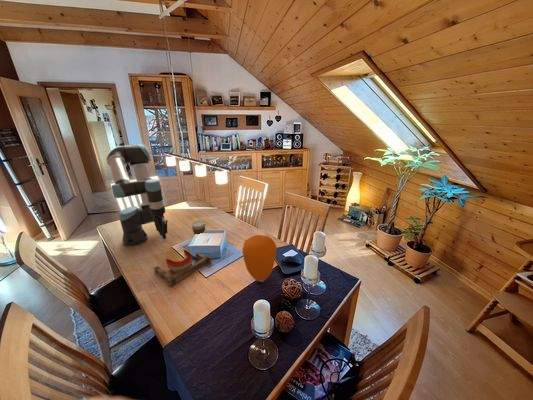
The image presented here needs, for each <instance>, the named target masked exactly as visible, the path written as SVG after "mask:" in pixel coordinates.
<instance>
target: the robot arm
mask: <svg viewBox="0 0 533 400" xmlns="http://www.w3.org/2000/svg"><path fill="white" fill-rule="evenodd" d="M151 159H152V158H151V155H150V152H149V150H148V147H147V145H145V144H138V143H137V144H129V145H119V146H115V147H113V148H112V149H110V151H109V152H108V153H107V156H106V163H107V165H108V166H109V167H110V170H111V174H112V178H113V182H114V184H112V185H111V189H112V191H111V192H112V194H113V196H114V198H115V199H121V198H122V199H123V198H129V197H132V196H137V195H140V197H141V198H140V199H141V203H140V208H138V206H130V207H127V208H126V207H125V208H124V209H122V210H120V212H119V213H118V218H119V222H120V225H121V229H122V240H121V241H122V243H123V245H124V246H127V247H128V246H137V245H140V244H142V243H143V242H145V241H146V240H147V239H148V234H147V232H146V231H145V229H144V228H143V225H147V224H151V223H154V226H155V230H156V231H157V232H158V234H159V239H160V242H161V244H163V245H164V244H166V243H168V240H167V234H168V222H169V221H168V219H165V216H164V215H165V214H166V207H165V201H164V197H163V192H162V191H163V190H162V185H161V182H160V180H159V179H156V178H153V177H151V176H150V171H149V167H148V166H149V165H150V162H151V161H152V160H151ZM126 164H127V165H128V164H129V166H130V167H131V168H133V171H134V175H135V179H136V180H135V181H131V180H130V176H129V174H128V171H127V168H126Z"/></svg>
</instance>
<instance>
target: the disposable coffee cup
mask: <svg viewBox="0 0 533 400" xmlns="http://www.w3.org/2000/svg"><path fill="white" fill-rule="evenodd" d="M190 227H191V229H192V232H193V235H195V234H200V233H203V232H204V231H205V232H206V221H203V220H197V221H194V222H193V223H191V225H190Z"/></svg>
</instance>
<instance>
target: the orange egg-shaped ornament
mask: <svg viewBox="0 0 533 400" xmlns="http://www.w3.org/2000/svg"><path fill="white" fill-rule="evenodd" d="M277 248H278V247H277V244H276V242H275V240H273V239H272V237H270V236H268V235H264V234H263V235H261V234H255V235H252V236H250V237H248V238H246V239H245V240H244V242H243V246H242V257H243V260H244V264H245V266H246V267H245V268H246V270H247V272H248V273H249V275H250V276H251V277H252V278H253V280H255V281H257V282H261V283H262V282H265V281H266V280H267V279H268V278H269V277H270V275H271V274H272V271H273V269H274V264H275V261H276V255H277Z"/></svg>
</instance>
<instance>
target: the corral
mask: <svg viewBox="0 0 533 400" xmlns="http://www.w3.org/2000/svg"><path fill="white" fill-rule="evenodd" d="M195 259H196V260H198V261H196V262H195V263H192V264H191V266H190V267H188V268H186V269H185V270H183V271H181V272H180V273H178V274H174V275H173V276H172V275H171V274H169V273H168V272H167V271H165V270H164V269H163V268H162V267H160V266H159V265H156V266H155V267H153V270H154V274H156V275H157V276H158V277H159V278H161V279H162V280H163V281H164V282H166V283H167V285H168V286H167V287H169V288H173V287H174V286H176V285H177V284H180V282H182V281H184V280H186V279H187V278H188V277H190V276H192V275H193V274H194V273H197V272H198V271H200V270H201V269H203V268H204V267H206V266H207V265H208V264H210V263H212V261H211V260H212V259H211V256H209V255H205V254H204V253H202V254H198V253H196V258H195ZM199 269H200V270H199Z"/></svg>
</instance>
